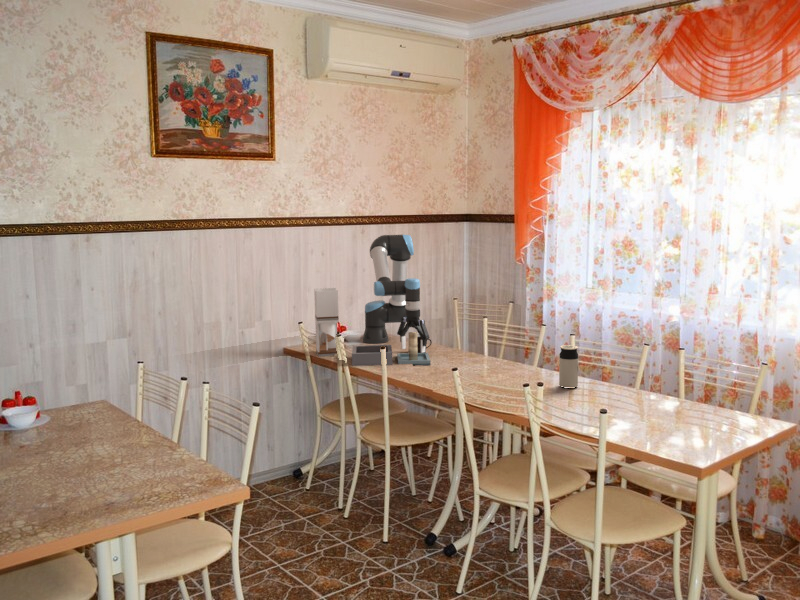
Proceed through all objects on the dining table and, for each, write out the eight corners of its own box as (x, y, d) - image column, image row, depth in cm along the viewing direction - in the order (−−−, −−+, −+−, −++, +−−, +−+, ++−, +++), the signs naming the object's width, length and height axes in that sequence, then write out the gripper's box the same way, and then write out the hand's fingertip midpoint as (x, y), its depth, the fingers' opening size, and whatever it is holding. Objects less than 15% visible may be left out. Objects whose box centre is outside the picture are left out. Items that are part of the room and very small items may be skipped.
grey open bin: (353, 358, 394) (352, 345, 393) (391, 357, 394) (391, 344, 393) (352, 367, 374) (351, 353, 373) (392, 366, 375) (392, 352, 374)
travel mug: (557, 388, 329) (557, 347, 326) (561, 384, 336) (561, 344, 334) (575, 390, 326) (576, 349, 323) (579, 385, 333) (580, 345, 330)
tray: (397, 358, 394) (397, 353, 393) (427, 357, 394) (427, 352, 394) (398, 366, 376) (398, 361, 375) (430, 365, 376) (430, 360, 376)
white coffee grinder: (318, 356, 401) (316, 291, 396) (316, 352, 411) (314, 288, 406) (339, 355, 403) (337, 290, 398) (337, 351, 413) (335, 288, 408)
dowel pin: (408, 358, 387) (408, 332, 385) (417, 358, 387) (417, 331, 385) (409, 360, 383) (408, 333, 381) (417, 360, 383) (417, 333, 381)
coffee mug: (408, 352, 406) (408, 334, 405) (423, 351, 410) (422, 333, 409) (418, 356, 396) (418, 338, 395) (433, 355, 400) (432, 336, 398)
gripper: (389, 307, 387) (390, 348, 390) (426, 312, 370) (426, 354, 373) (399, 306, 392) (400, 346, 395) (436, 310, 376) (436, 352, 379)
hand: (413, 350), depth 384 cm, fingers open, 13 cm apart
